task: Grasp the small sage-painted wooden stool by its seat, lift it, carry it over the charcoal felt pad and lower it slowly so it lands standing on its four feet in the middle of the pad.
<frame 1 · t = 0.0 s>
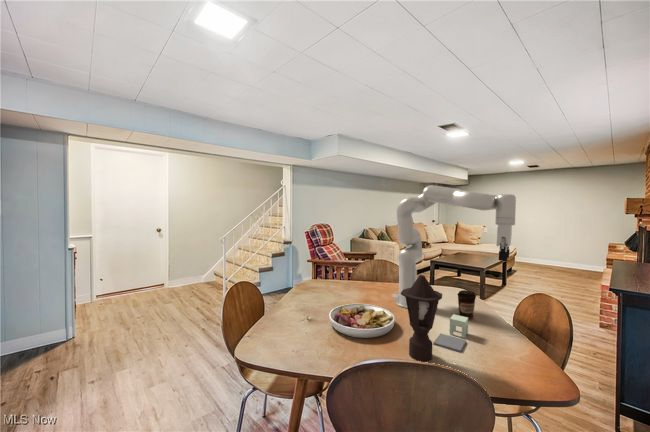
hand: (504, 258, 127), 31 cm above the table, fingers open, 9 cm apart
lantern: (420, 356, 104), on the table
felt pad: (449, 343, 113), on the table
bowl: (361, 326, 130), on the table
stool: (458, 334, 121), on the table
coffee cup: (466, 318, 138), on the table
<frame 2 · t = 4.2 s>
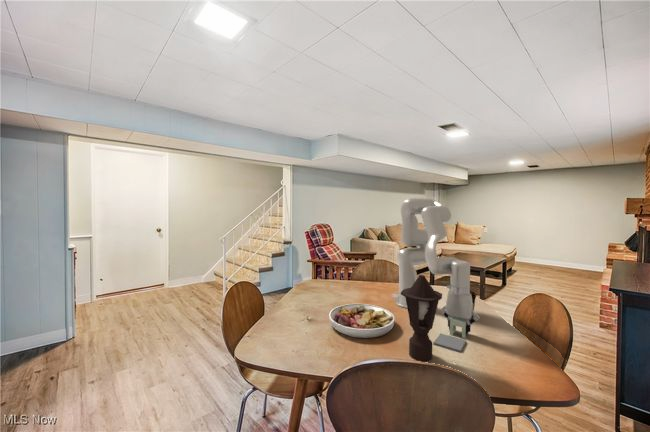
hand: (458, 330, 121), 2 cm above the table, fingers closed on stool, 6 cm apart
stool: (458, 334, 121), on the table, touching gripper
everything else where it was.
when the fingers open (3 cm above the table, at t = 8.8 s): stool drops 1 cm, resting on felt pad.
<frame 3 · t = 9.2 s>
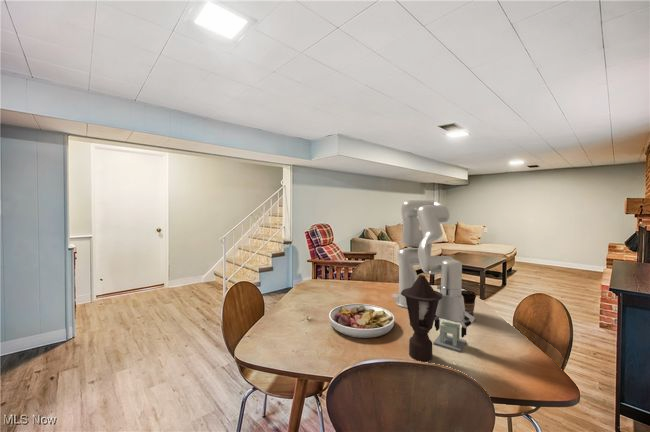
hand: (450, 332, 112), 4 cm above the table, fingers open, 9 cm apart
stool: (449, 341, 113), point 1 cm above the table, touching felt pad
everything else where it was.
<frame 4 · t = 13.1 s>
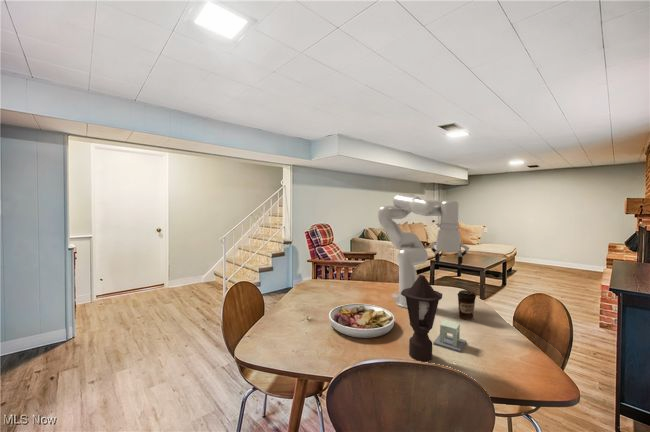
hand: (448, 263, 131), 28 cm above the table, fingers open, 9 cm apart
nothing on the table moved.
at the end: stool inside the target area on the felt pad (0.1 cm from its centre), point 0.8 cm above the felt pad's base; stool tilted 0°; the gripper is holding nothing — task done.
